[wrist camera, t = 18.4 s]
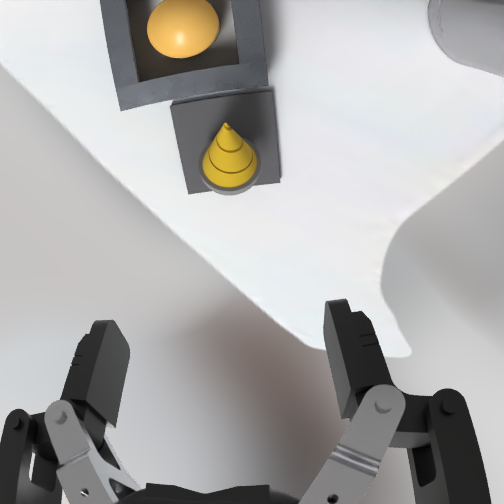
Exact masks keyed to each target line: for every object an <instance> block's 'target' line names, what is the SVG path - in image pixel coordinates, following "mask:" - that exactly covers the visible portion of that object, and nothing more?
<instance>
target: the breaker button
mask: <svg viewBox="0 0 504 504" xmlns="http://www.w3.org/2000/svg"><path fill="white" fill-rule="evenodd" d="M219 26H220V25H219V18H218V15H217V13H216V11H215V10H214V8H213V7H212V6H211V4H210V3H208V2H207V1H206V0H164V1H163V2H161V3H160V4H159V5H158V6H157V7H156V8H155V9H154V10H153V12H152V13H151V15H150V17H149V20H148V24H147V34H148V38H149V40H150V42H151V44H152V45H153V47H154V48H155V49H156V50H157V51H159V52H160V53H162V54H164V55H166V56H169V57H173V58H186V57H190V56H194V55H197V54H200V53H202V52H203V51H205V50H206V49H208V48H209V47H210V46H211V45H212V44H213V42H214V41H215V39H216V38H217V35H218V32H219Z"/></svg>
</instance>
